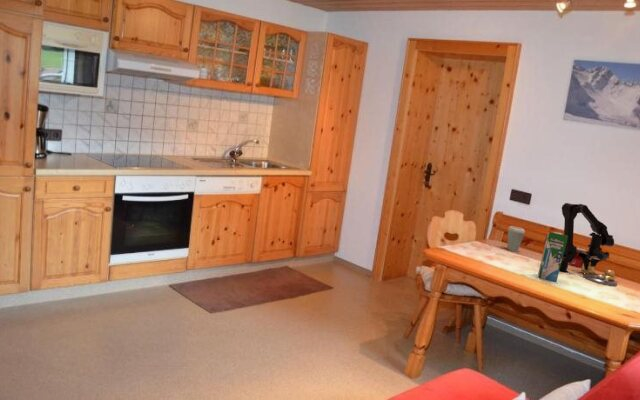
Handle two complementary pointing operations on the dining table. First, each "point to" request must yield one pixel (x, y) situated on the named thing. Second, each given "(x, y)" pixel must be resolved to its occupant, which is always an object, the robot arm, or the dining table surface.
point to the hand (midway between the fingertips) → (588, 270)
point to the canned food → (577, 259)
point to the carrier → (602, 278)
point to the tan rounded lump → (589, 270)
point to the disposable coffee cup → (514, 237)
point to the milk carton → (552, 256)
